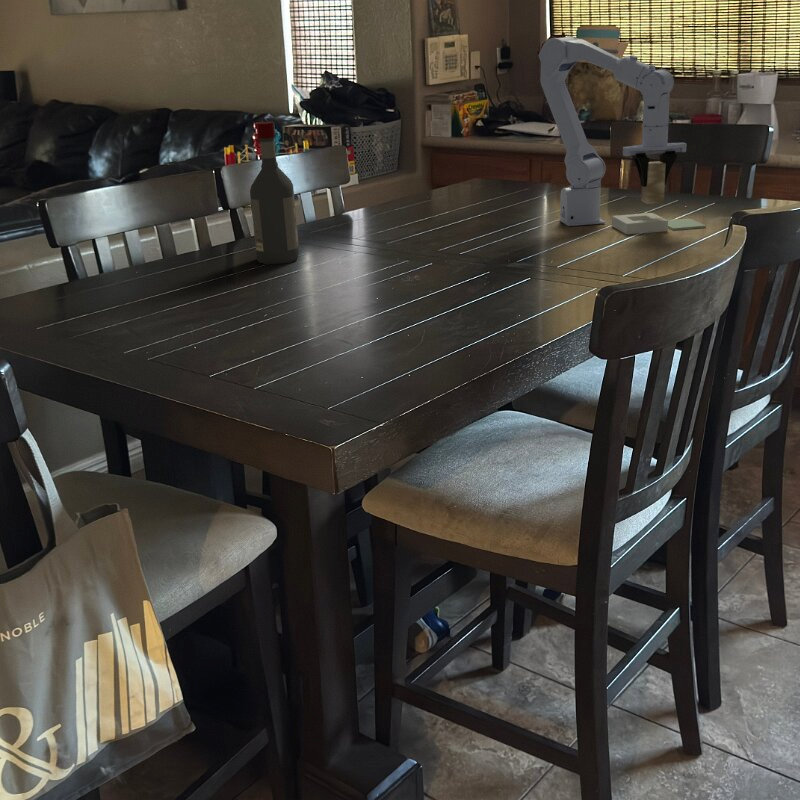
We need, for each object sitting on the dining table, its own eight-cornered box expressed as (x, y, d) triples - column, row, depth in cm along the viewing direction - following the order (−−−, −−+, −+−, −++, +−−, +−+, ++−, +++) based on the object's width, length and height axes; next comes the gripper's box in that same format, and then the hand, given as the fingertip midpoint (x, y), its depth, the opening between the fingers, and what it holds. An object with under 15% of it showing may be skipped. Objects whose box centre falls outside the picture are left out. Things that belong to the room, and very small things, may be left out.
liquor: (299, 253, 228) (287, 119, 217) (297, 262, 220) (285, 123, 209) (260, 256, 228) (246, 121, 217) (256, 265, 220) (241, 126, 209)
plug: (647, 203, 231) (648, 164, 228) (641, 201, 235) (642, 162, 231) (663, 202, 231) (665, 163, 228) (657, 199, 235) (659, 161, 232)
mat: (672, 230, 232) (673, 228, 231) (658, 223, 240) (658, 220, 240) (705, 227, 232) (705, 225, 232) (690, 220, 241) (690, 218, 241)
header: (626, 234, 230) (626, 223, 229) (611, 226, 239) (612, 215, 238) (667, 231, 231) (668, 220, 230) (651, 223, 240) (652, 212, 239)
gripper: (630, 129, 222) (629, 190, 227) (692, 124, 224) (689, 185, 229) (620, 126, 229) (618, 185, 234) (680, 122, 230) (678, 181, 235)
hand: (653, 185), depth 232 cm, fingers closed on plug, 4 cm apart
